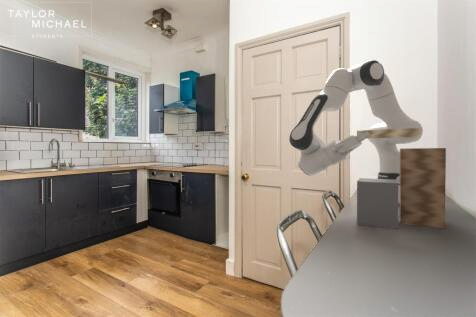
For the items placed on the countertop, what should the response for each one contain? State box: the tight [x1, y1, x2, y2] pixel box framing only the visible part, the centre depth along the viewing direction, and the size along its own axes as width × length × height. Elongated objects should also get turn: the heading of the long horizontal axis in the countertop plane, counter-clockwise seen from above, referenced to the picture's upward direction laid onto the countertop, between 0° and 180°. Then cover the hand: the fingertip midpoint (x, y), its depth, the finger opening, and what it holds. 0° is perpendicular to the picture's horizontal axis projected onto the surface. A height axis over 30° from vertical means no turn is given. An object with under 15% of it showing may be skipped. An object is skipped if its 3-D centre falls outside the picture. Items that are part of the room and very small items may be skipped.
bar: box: [356, 128, 422, 140], centre depth 92 cm, size 20×3×3 cm, turn 59°
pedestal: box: [398, 147, 447, 229], centre depth 88 cm, size 12×10×26 cm
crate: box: [356, 177, 399, 230], centre depth 88 cm, size 12×10×15 cm
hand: (369, 133), depth 95 cm, fingers closed on bar, 3 cm apart
